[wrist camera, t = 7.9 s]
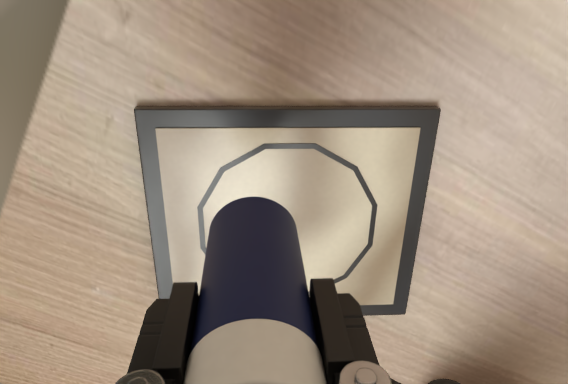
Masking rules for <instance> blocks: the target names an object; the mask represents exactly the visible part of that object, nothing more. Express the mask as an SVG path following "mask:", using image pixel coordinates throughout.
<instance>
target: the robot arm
mask: <svg viewBox="0 0 568 384" xmlns="http://www.w3.org/2000/svg"><path fill="white" fill-rule="evenodd" d="M309 298H310V304H311V309H312V315H313V320H314V326H315V331H316V337H317V342H318V348H319V351H320V353H321V356H322V360H323V365H324V370H325V376H326V381H327V384H401V383H398V382H396V381H395V380H393V379H391V378H390V376H389V374H388V373H387V372H386V371H385V370H384V369H383V368H382V367H381V366H380V365H379V363H378V360H377V357H376V354H375V351H374V348H373V344H372V341H371V338H370V335H369V332H368V329H367V328H366V323H365V320H364V318H363V313H362V310H361V307H360V304H359V303H358V302H357V300H356V299H355V298H354V297H353V296H352V295H351V294H350V293H337V291H336V287H335V283H334V280H333V278H317V279H311V280H310V294H309ZM198 299H199V293H198V284H197V282H174V283H173V286H172V290H171V294H170V298H169V299H156V300H155V301H154V303H153V304H152V305H151V306H150V307H149V308H148V309H147V311H146V314H145V317H144V321H143V325H142V327H141V330H140V335H139V337H138V340H137V343H136V346H135V350H134V353H133V356H132V359H131V363H130V366H129V369H128V372H127V374H126V375H125V376H123V377H122V378H120V379H119V380H118V381H117V382H116V384H183V383H184V376H185V370H186V364H187V360H188V358H189V355H190V351H191V344H192V338H193V331H194V325H195V318H196V312H197V306H198ZM428 384H461V383H458V382H456V381H453V380H449V379H437V380H433V381H431V382H430V383H428Z"/></svg>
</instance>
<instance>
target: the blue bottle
mask: <svg viewBox="0 0 568 384" xmlns="http://www.w3.org/2000/svg"><path fill="white" fill-rule="evenodd" d="M183 384H327V381H326V376H325V370H324V365H323V360H322V356H321V353H320V351H319V348H318V342H317V337H316V331H315V326H314V320H313V315H312V309H311V304H310V298H309V293H308V287H307V282H306V276H305V271H304V265H303V260H302V254H301V249H300V243H299V238H298V233H297V227H296V224H295V221H294V219H293V217H292V215H291V214H290V213H289V211H288V210H287V209H286V208H284V207H283V206H282V205H280V204H279V203H277V202H275V201H273V200H270V199H267V198H263V197H244V198H240V199H237V200H234V201H232V202H230V203H228V204H227V205H225V206H224V207H223V208H221V209H220V210H219V211H218V212H217V214H216V215H215V216H214V218H213V220H212V222H211V225H210V229H209V235H208V241H207V248H206V254H205V261H204V267H203V274H202V280H201V286H200V293H199V299H198V306H197V312H196V318H195V325H194V331H193V338H192V344H191V351H190V355H189V358H188V360H187V364H186V370H185V376H184V383H183Z"/></svg>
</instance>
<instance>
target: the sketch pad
mask: <svg viewBox="0 0 568 384" xmlns="http://www.w3.org/2000/svg"><path fill="white" fill-rule="evenodd" d="M440 111H441V109H440V108H438V107H437V106H137V107H136V108H135V109H134V114H135V121H136V129H137V136H138V144H139V151H140V159H141V167H142V174H143V182H144V189H145V197H146V204H147V212H148V220H149V227H150V235H151V242H152V250H153V258H154V265H155V273H156V280H157V288H158V295H159V299H169V298H170V294H171V290H172V286H173V283H174V282H197V284H198V293H200V286H201V280H202V274H203V267H204V261H205V254H206V248H207V241H208V235H209V229H210V225H211V222H212V220H213V218H214V216H215V215H216V214H217V212H218V211H219V210H220V209H221V208H223V207H224V206H225V205H227V204H228V203H230V202H232V201H234V200H237V199H240V198H244V197H263V198H267V199H270V200H273V201H275V202H277V203H279V204H280V205H282V206H283V207H284V208H286V209H287V210H288V211H289V213H290V214H291V215H292V217H293V219H294V221H295V224H296V227H297V233H298V238H299V243H300V249H301V254H302V260H303V265H304V271H305V276H306V282H307V287H308V293H309V294H310V280H311V279H317V278H333V280H334V283H335V287H336V291H337V293H350V294H351V295H352V296H353V297H354V298H355V299H356V300H357V302H358V303H359V304H360V307H361V310H362V313H363V316H364V315H400V314H405V313H406V307H407V301H408V296H409V290H410V284H411V278H412V272H413V267H414V261H415V255H416V249H417V244H418V238H419V232H420V226H421V221H422V215H423V209H424V203H425V198H426V192H427V186H428V180H429V174H430V169H431V163H432V157H433V151H434V146H435V140H436V134H437V128H438V123H439V117H440Z"/></svg>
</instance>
